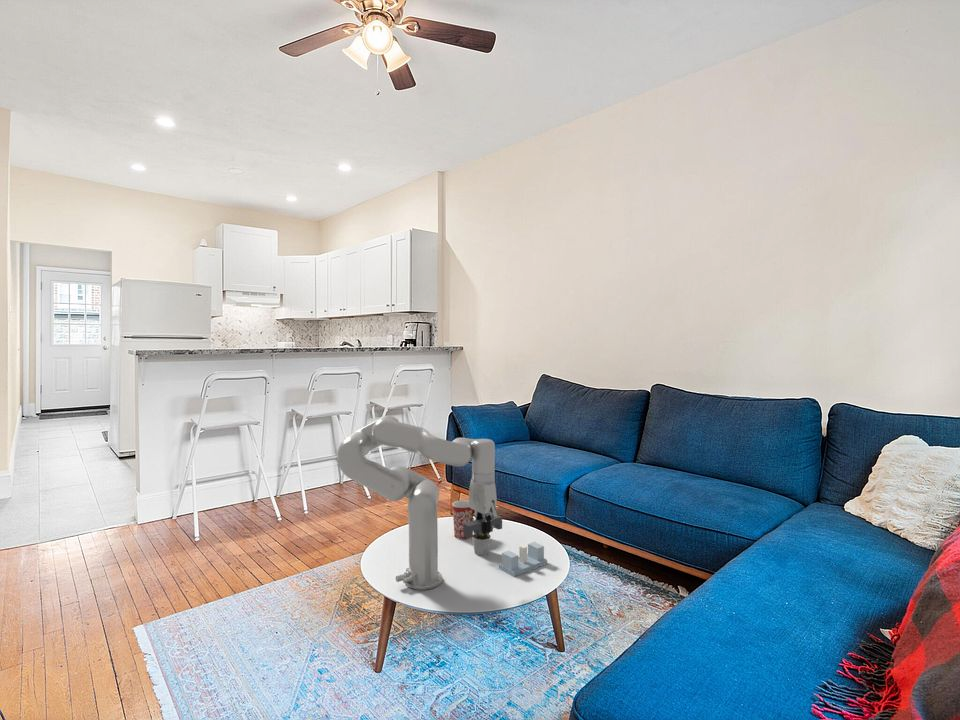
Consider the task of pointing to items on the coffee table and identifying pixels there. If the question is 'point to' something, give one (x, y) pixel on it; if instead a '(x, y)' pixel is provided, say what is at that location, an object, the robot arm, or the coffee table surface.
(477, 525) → the dark grey bar
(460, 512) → the mug
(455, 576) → the coffee table surface
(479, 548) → the house plant
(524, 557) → the display stand
